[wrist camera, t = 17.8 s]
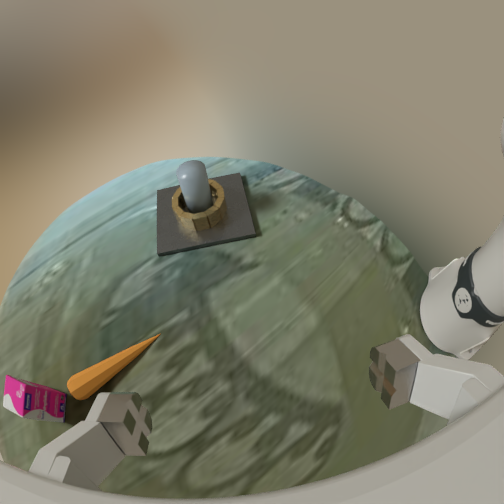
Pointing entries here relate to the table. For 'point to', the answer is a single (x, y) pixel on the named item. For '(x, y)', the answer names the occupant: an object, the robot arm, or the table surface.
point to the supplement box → (34, 400)
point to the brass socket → (203, 218)
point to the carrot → (103, 371)
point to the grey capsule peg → (195, 186)
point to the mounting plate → (227, 230)
